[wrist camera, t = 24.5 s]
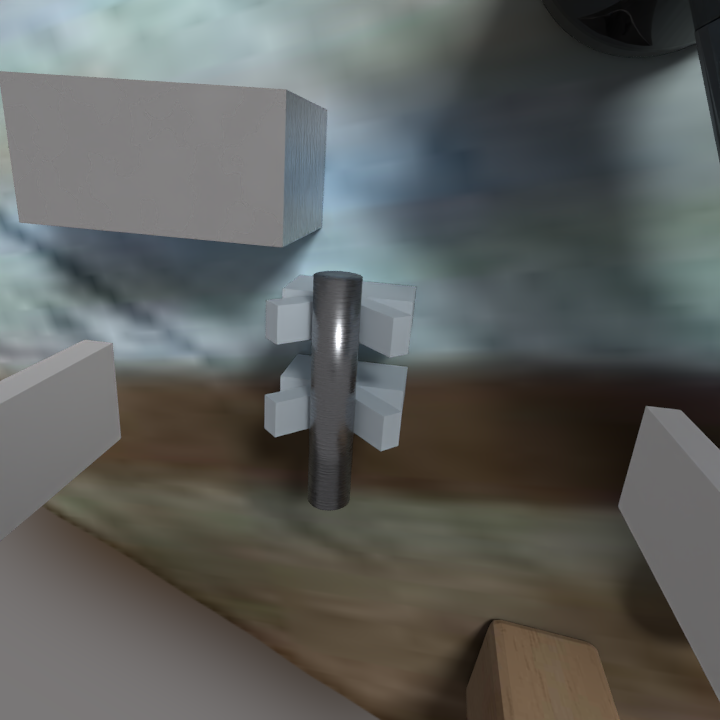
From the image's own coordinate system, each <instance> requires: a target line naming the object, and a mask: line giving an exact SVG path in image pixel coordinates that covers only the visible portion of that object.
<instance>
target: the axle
mask: <svg viewBox="0 0 720 720" xmlns="http://www.w3.org/2000/svg"><path fill="white" fill-rule="evenodd" d="M362 281H363V277H362V276H361V275H359V274H355V273H351V272H343V271H324V272H318V273H315V274H314V275H313V313H312V352H311V390H310V428H309V467H308V501H309V503H310V504H311V505H312V506H314V507H316V508H318V509H322V510H337V509H340V508H343V507H344V506H346V505H347V504H348V502H349V500H350V485H351V468H352V451H353V434H354V417H355V400H356V383H357V366H358V349H359V332H360V315H361V298H362Z"/></svg>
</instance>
